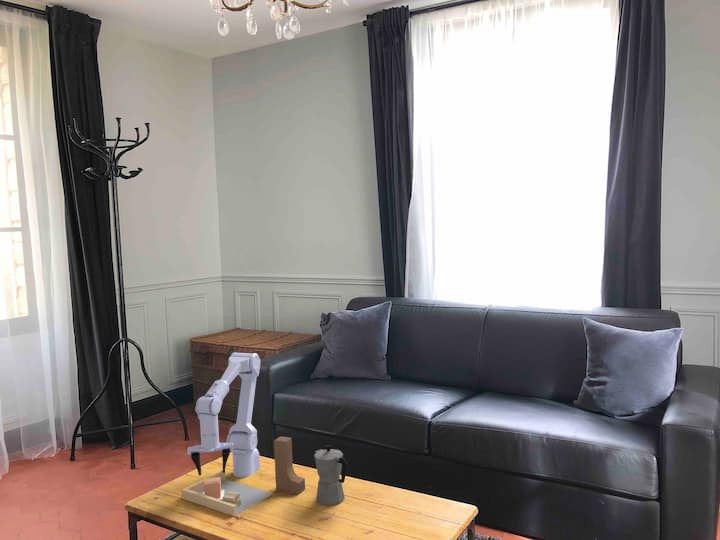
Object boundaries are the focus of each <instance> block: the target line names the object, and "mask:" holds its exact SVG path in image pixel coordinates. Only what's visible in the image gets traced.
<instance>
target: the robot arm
mask: <svg viewBox="0 0 720 540" xmlns="http://www.w3.org/2000/svg"><path fill="white" fill-rule="evenodd" d="M227 362H228V366H227V367H226V369H225V371H224V373H223V374H222V376H221V377H220V379H216V380H215V381H214V382H213V383H212V385H211V386H210V388H209V389H208V391H207V392H206V393H205V395H204V396H201V397H199V398H198V399H197V400H196V404H195V408H194V410H195V413H196V414H197V419H198V420H199V425H200V427H199V429H200V440H201V442H200V443H201V444H198V445H193V446H189V447H187V450H186V451H187V456H189V455H191V456H190V459H191V461H192V462H193V463H194V464H193V465H195V467H196V470H197V473H198V476H202V465H201V454H205V453H214V452H221V457H222V460H221V461H222V470H223V473H225V474H226V466H227V463H228V459H229V457H230V454H231V453H232V455H231V456H232V470H233V471H232V472H233V476H234V477H236V478H247V477H250V476H252V475H253V474H255V473H256V472H258V471H260V470H261V462H260V452H259V450H258V448H257V445H258V430H257V429H256V427H255V426H253V424H252V420H253V419H252V416H253V408H254V402H255V393H256V384H257V377H259V374H260V369H261V362H262V360H261V358H260V356H259V354H258V353H255V352H254V353H251V352H250V353H249V352H247V353H246V352H237V351H236V352H235V351H234V352H232V353H231V355H229V358H228V361H227ZM237 376H239V377H240V379H241V385H240V391H239V392H240V393H239V400H238V407H237V408H238V409H237V416H236V421H235V422H236V423H235V424H233V425H232V426H231V427H230V428H229V432H228V435H227V438H226V442H220V436H219V435H220V433H219V432H220V431H219V418H218V417H219V415H218V414H219V413H220V411H221V408H222V405H223V401H224V399H225V397H226V396H227V394H228V393H229V392H230V385H231V383H232V382H233V381H234V380H235V378H236V377H237Z"/></svg>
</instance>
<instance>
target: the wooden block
mask: <svg viewBox="0 0 720 540" xmlns="http://www.w3.org/2000/svg"><path fill="white" fill-rule="evenodd" d="M273 448H274V449H273V451H274V468H275V469H274V472H275V473H274V474H275V476H274V477H275V491H276V492H282V493H286V494H287V493H288V494H294V495H300V494H302V493H303V492H304V491H305V490H306V479H305V477H302V476H299V475H298V474H297V473H296V472H295V469H294V466H293V443H292V437H289V436H281V435H280V436H278V437H277V438H276V439H274V440H273Z"/></svg>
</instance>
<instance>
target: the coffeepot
mask: <svg viewBox="0 0 720 540" xmlns="http://www.w3.org/2000/svg"><path fill="white" fill-rule="evenodd" d="M331 447H332V445H330V444H328V445H325V448H326V449H317V450H314V452H315V454H313V456H314V461H315V467H316V472H317V473H316V474H317V475H318V478H319V479H318V483H317V490H316V496H315V497H316V501H317V502H318V504H320V505H322V506H326V507H327V506H328V507H330V506H336V505H339V504H341V503H343V501H344V499H345V494H344V488H343V484H345V480H346V475H347V471H348V468H349V467H348V462H347V460H346V458H345V457H344V453H343V452H342V451H341V450H339V449H334V448H333V449H332V448H331Z"/></svg>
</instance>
